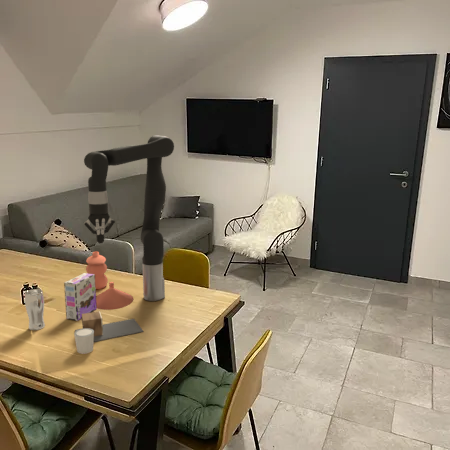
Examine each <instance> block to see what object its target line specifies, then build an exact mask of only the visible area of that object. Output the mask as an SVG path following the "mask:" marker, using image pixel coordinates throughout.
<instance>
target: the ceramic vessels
mask: <svg viewBox="0 0 450 450" xmlns="http://www.w3.org/2000/svg"><path fill="white" fill-rule="evenodd" d="M106 261H107V258H106V257H105V256H103V255H101V254H100V252H99V251H93V252H92V255H90V256H88V257H87V258H86V261H85V262H86V263H87V265H86V268H85V271H86V273H88V274H95V288H96V290H101V289H104V288H105V287H106V286H107V285H109V288H108V289H106V290H104V291H102V292H100V293H98V294H96V305H97V309H98V310H102V311H103V310H104V311H105V310H106V311H109V310H110V311H111V310H112V311H113V310H118V309H123V308H125V307H126V308H127V306H130V305H131V304H132V303H133V302H134V296H132V294H129V293H127V292H125V291H122V290H120V289H118V288H115V284H114V283H115V282H114V281H109V282H108V277H107V276H106V272H107V271H108V266H107V264H106ZM97 309H96V310H97Z"/></svg>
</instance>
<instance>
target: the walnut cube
mask: <svg viewBox="0 0 450 450" xmlns="http://www.w3.org/2000/svg"><path fill="white" fill-rule="evenodd" d="M81 324H82V326H81V327H82V328H83V329H84V328H89V329H93V330H94V336H100V335H103V316H102V314H101V311H100V310H99V311H92V312H91V313H84V314H82V318H81Z"/></svg>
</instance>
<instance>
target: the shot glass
mask: <svg viewBox="0 0 450 450" xmlns="http://www.w3.org/2000/svg"><path fill="white" fill-rule="evenodd" d="M79 329H80V330H77V329H76V330H77V331H76V332H75V331H74V333H73V334H74V342H75V346H76V352H77V353H79V354H83V355H84V354H85V355H86V354H89V353H92V352H93V350H94V343H95V342H94V330H93V329H89V328H84V329H82V328H79Z"/></svg>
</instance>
